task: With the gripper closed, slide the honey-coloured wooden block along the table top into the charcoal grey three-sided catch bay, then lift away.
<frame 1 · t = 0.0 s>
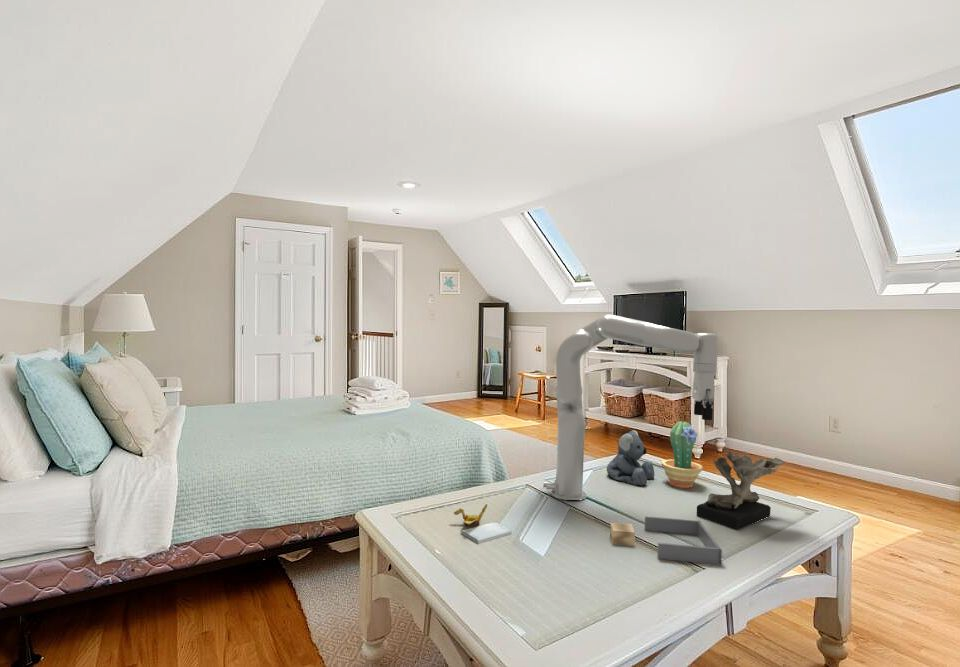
hand: (702, 417, 178), 31 cm above the table, tool pointing down, fingers open, 9 cm apart
coral: (744, 519, 168), on the table
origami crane: (472, 526, 154), on the table
koala plush: (628, 479, 209), on the table
wooden block: (622, 541, 147), on the table
hard drive: (486, 536, 148), on the table
catch bay: (679, 545, 145), on the table
potted cactus: (680, 484, 203), on the table
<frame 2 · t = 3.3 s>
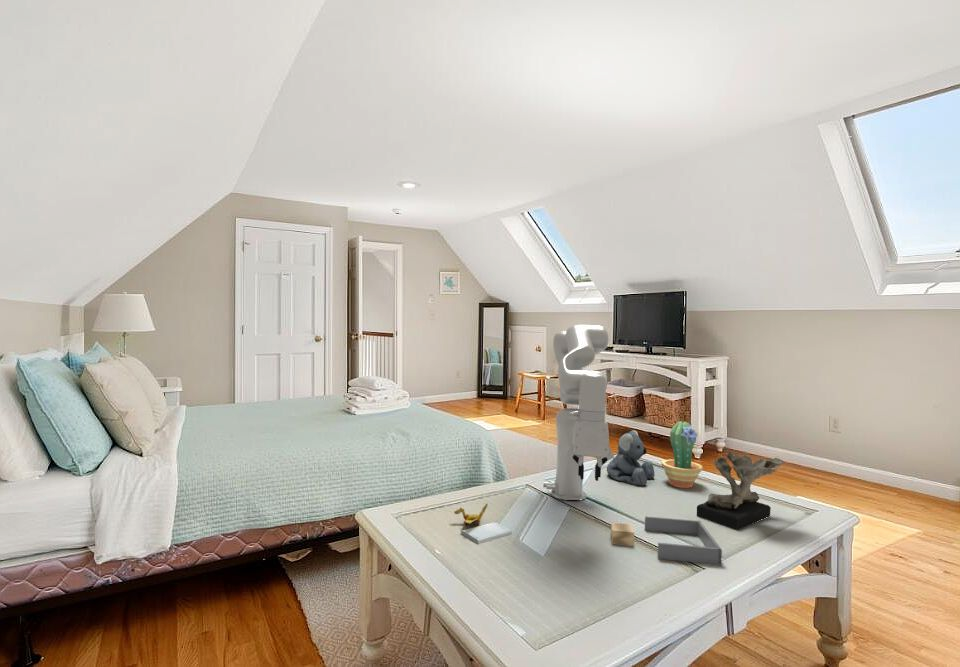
hand: (589, 478, 148), 17 cm above the table, tool pointing down, fingers open, 3 cm apart
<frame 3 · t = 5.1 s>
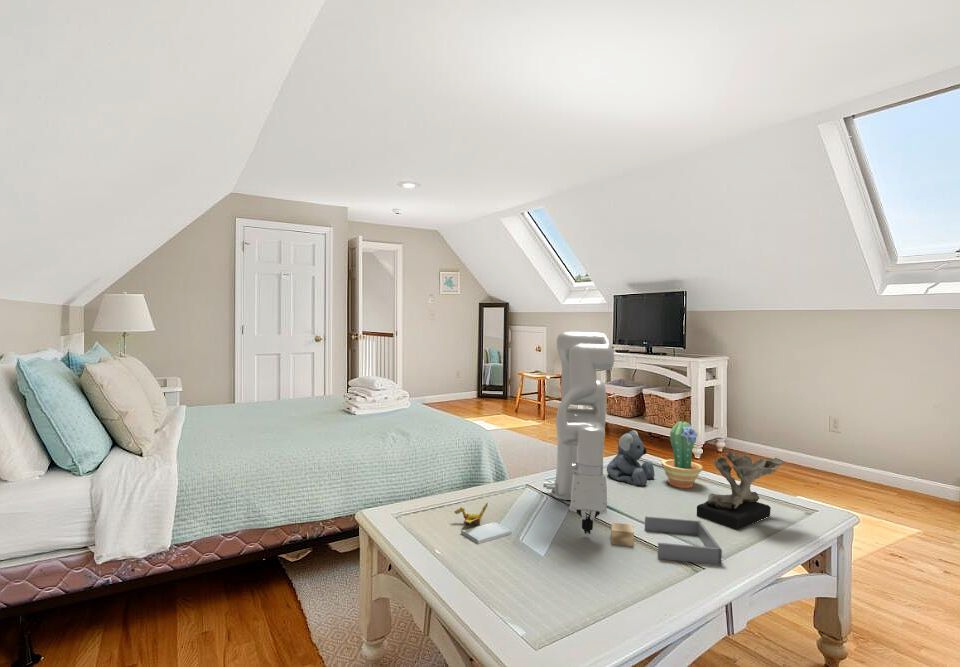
hand: (587, 531, 148), 2 cm above the table, tool pointing down, fingers closed
nothing on the table moved.
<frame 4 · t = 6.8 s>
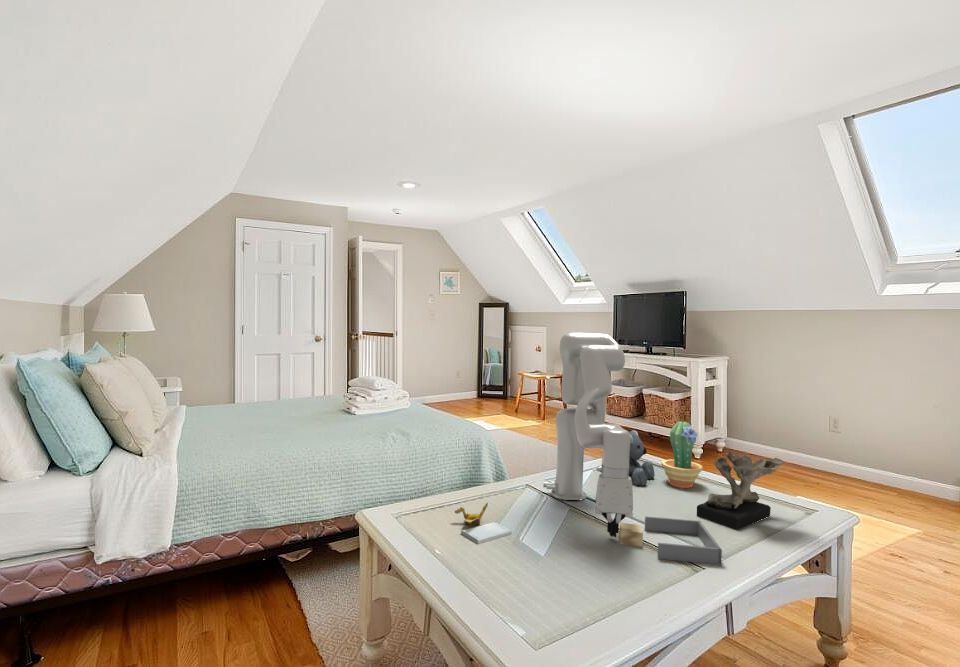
hand: (612, 534, 147), 1 cm above the table, tool pointing down, fingers closed
wooden block: (630, 541, 147), on the table, touching gripper
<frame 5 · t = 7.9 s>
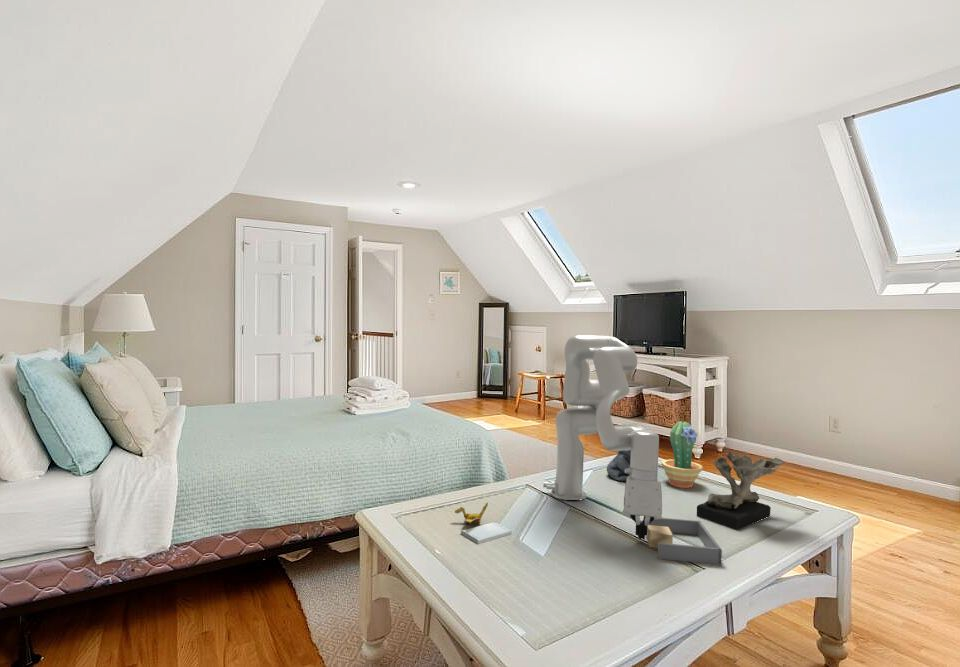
hand: (641, 537, 146), 1 cm above the table, tool pointing down, fingers closed
wooden block: (658, 543, 146), on the table
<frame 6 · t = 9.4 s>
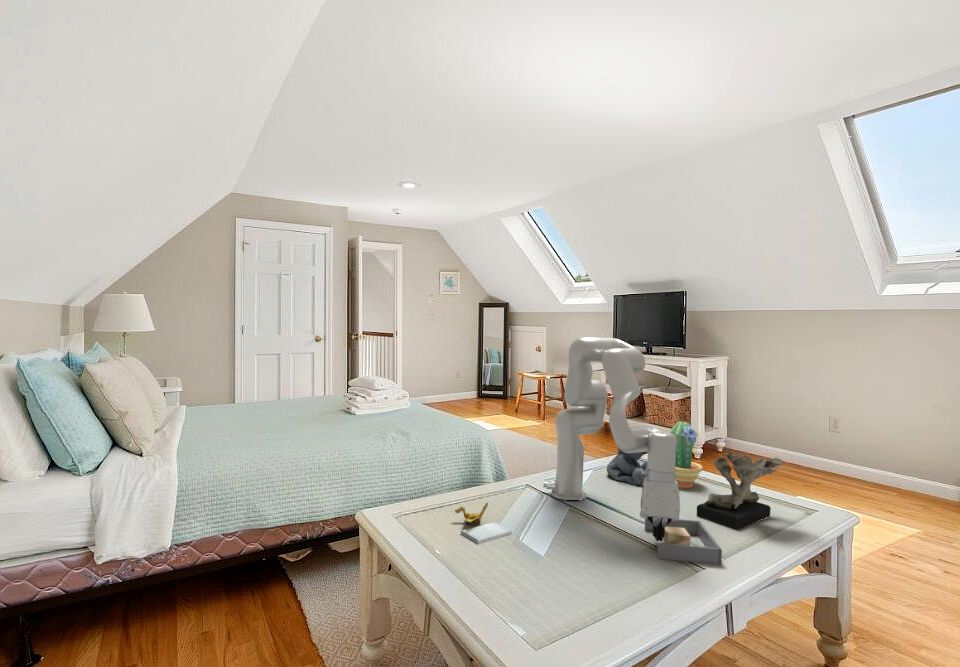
hand: (658, 539, 146), 1 cm above the table, tool pointing down, fingers closed
wooden block: (675, 545, 146), on the table
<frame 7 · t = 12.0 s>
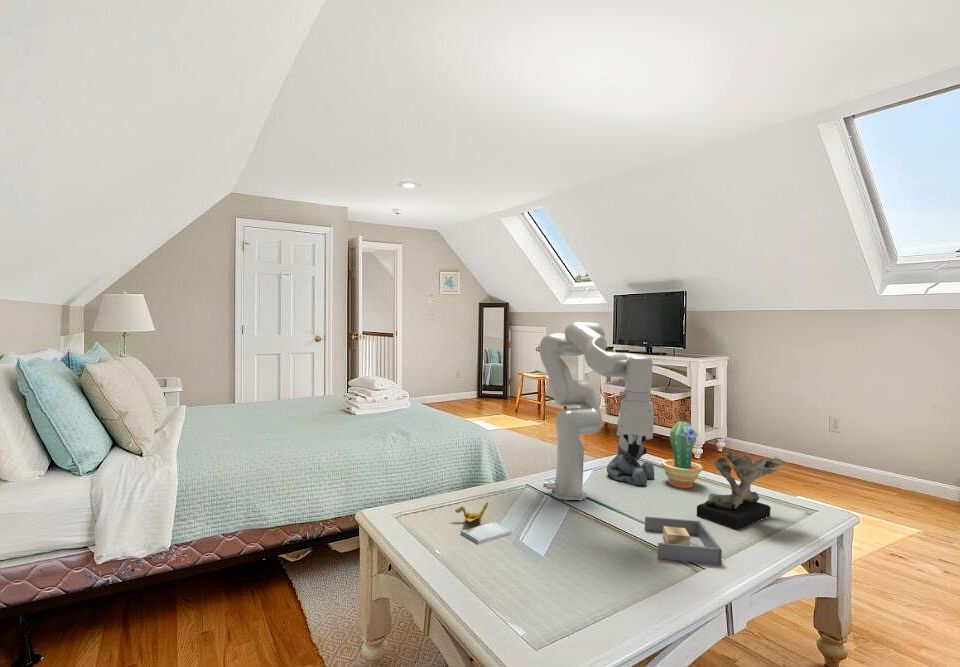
hand: (632, 456, 155), 22 cm above the table, tool pointing down, fingers closed
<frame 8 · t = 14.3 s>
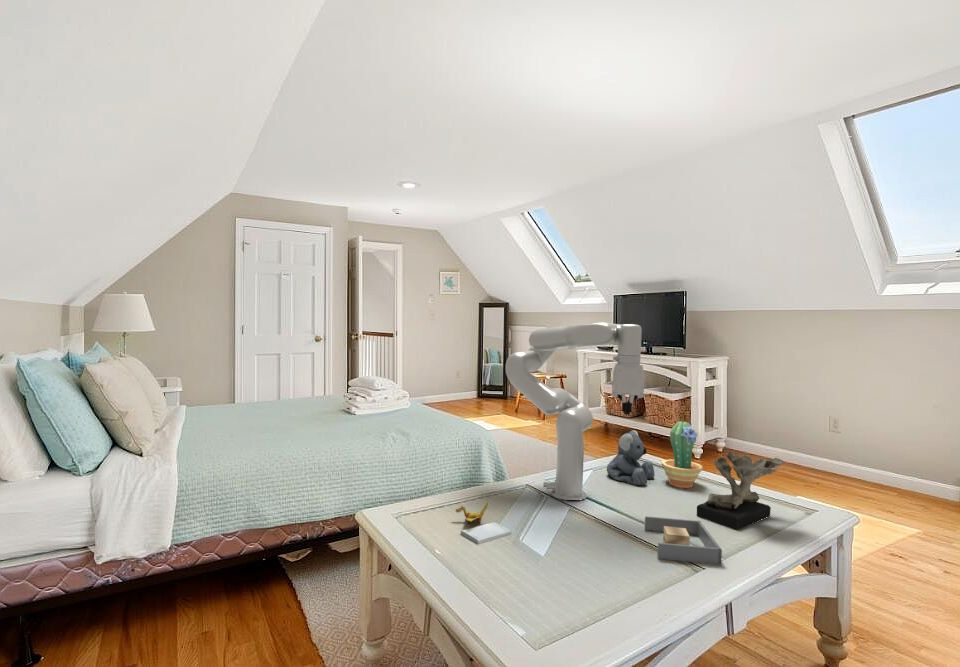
hand: (626, 414, 174), 32 cm above the table, tool pointing down, fingers closed
at the end: wooden block inside the target area (1.6 cm from its centre), on the table; wooden block moved 15.1 cm from its start; wooden block tilted 0° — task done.
